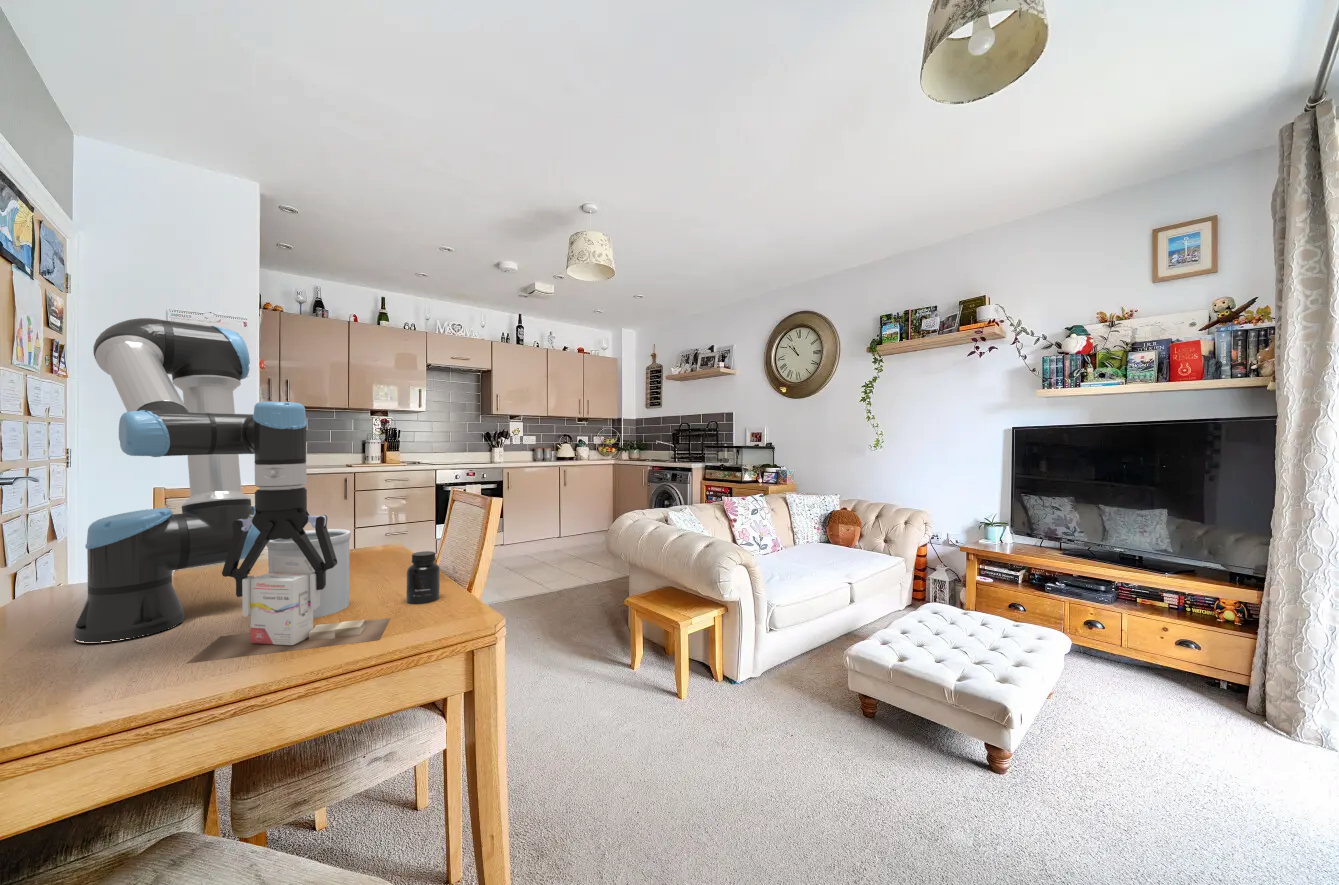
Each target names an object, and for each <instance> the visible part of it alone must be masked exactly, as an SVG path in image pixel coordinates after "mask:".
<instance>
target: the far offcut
mask: <svg viewBox="0 0 1339 885" xmlns="http://www.w3.org/2000/svg"><path fill="white" fill-rule="evenodd" d="M365 621H366V619H359V620H358V619H357V620H347V621H346V620H345V621H341V622H339V623H340V624H339V626H338V627H337V628H336V629H335V637H344V636H353V635H360V634H361V633H362V631H363V630H364V629H365Z"/></svg>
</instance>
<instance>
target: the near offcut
mask: <svg viewBox="0 0 1339 885" xmlns="http://www.w3.org/2000/svg"><path fill="white" fill-rule="evenodd" d="M340 623H341V622H334V623H333V622H331V623H326V624H325V623H324V624H316V625H314V626H315V627H314V628H313V629H312V630H311V631H310V632H309V641H314V640H323V639H333V638H335V629H336V628H337V627H338V626H339V624H340Z"/></svg>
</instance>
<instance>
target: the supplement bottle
mask: <svg viewBox="0 0 1339 885" xmlns="http://www.w3.org/2000/svg"><path fill="white" fill-rule="evenodd" d="M435 561H436V552H435V551H429V550H428V551H426V550H425V551H417V552H414V553H412V554H411V563H412V564H411V565H409V566H408V567H407V570H406V603H407V604H410V605H424V604H425V605H426V604H429V603H433V602H436V601H438V600H439V599H440V593H441V592H440V589H441V588H440V587H441V584H440V582H441V580H440V579H441V577H440V576H441V568H440V565H439V564H437V563H436V562H435Z"/></svg>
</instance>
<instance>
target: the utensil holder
mask: <svg viewBox="0 0 1339 885" xmlns="http://www.w3.org/2000/svg"><path fill="white" fill-rule="evenodd" d="M327 530H328V533H329V536H330V540H331V543H332V546H333V549H334V552H335V555H336V559H337V564H336V565H335V566H334V567H333V568H331V569H328V570H326V586H325V588H324V589H323V590H320V605H319V606H318V607H317V609H316V610H313V619H316V618H318V619H319V618H321V617H326V616H329V615H333V614H336V613H338V612H341V611H343V610H345V609H346V608H348V607H349V605H350V594H351V593H350V592H351V591H350V590H351V589H350V539H351V530H349V529H343V528H329V529H328V528H327ZM304 531H305V532H306V534H307V537H308V539H309V540H310V542H311V543H312V545H313V546H314V548H315V549H316V551H317V552H318V554H319V555H320V557H321V558H322V560H323V561H324V563H325V560H324V557H323V554H322V551H321V548H320V544H319V541H318V538H317V535H316V531H315V529H313V530H311V529H310V530H304ZM265 547H266V548H267V556H268V558H267V559H268V561H267V562H268V573H271V572H273V565H272V557H273V556H289V557H305V555H304V554H303V552H302V551H301V550H300V548H299V547H298V545H297V544H296V543H295V542H294V541H293V540H292V538H291V539H280V538H279V539H276V540H270V541H269V542H268V543H267V544H266V546H265ZM285 565H286V566H298V565H299V564H298V563H293V562H292V561H290V562H289V563H285ZM311 567H312V566H311ZM314 571H315V570H314V569H313V567H312V573H313V572H314Z"/></svg>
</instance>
